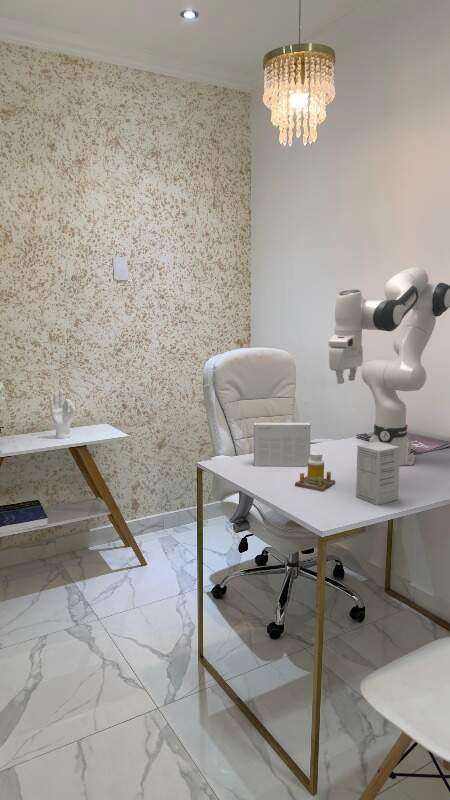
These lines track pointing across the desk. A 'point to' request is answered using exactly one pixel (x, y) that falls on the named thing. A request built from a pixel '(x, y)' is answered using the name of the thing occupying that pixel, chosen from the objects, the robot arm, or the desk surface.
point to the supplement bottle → (315, 467)
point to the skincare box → (281, 444)
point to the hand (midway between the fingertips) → (346, 382)
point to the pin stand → (319, 486)
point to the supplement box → (377, 472)
